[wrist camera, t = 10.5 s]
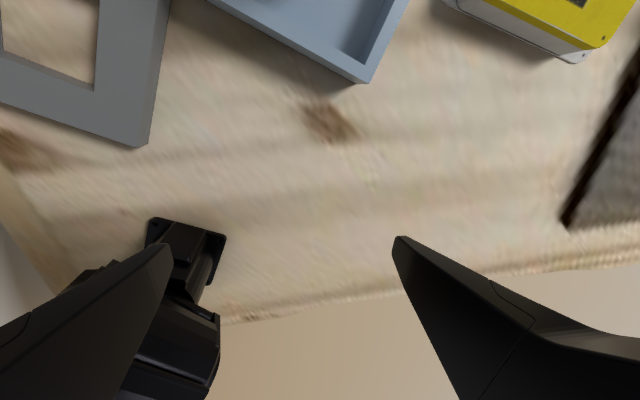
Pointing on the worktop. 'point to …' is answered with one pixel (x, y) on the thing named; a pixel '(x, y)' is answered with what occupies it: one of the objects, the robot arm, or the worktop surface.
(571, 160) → the worktop surface
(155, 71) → the grey square frame
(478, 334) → the robot arm
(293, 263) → the worktop surface
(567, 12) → the emergency button
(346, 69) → the parts tray
